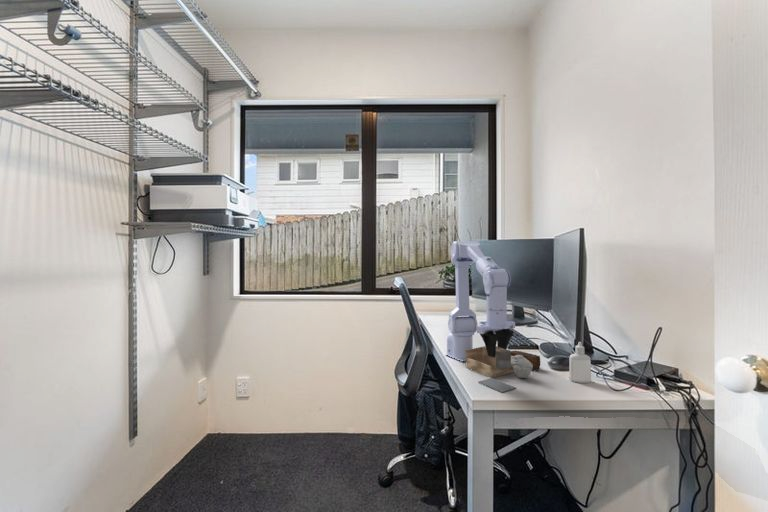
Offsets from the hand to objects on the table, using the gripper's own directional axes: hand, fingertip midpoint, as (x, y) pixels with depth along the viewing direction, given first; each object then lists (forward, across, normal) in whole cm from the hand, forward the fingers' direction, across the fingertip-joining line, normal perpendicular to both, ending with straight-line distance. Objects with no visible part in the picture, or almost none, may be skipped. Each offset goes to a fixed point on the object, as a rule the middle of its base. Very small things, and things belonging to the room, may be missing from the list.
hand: (496, 354), depth 101 cm
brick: (+10, +22, +7) cm, 25 cm away
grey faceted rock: (+9, +12, 0) cm, 15 cm away
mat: (+9, 0, 0) cm, 9 cm away
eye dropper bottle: (+9, +24, -11) cm, 28 cm away
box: (+3, 0, 0) cm, 3 cm away
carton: (+9, +11, +11) cm, 18 cm away
